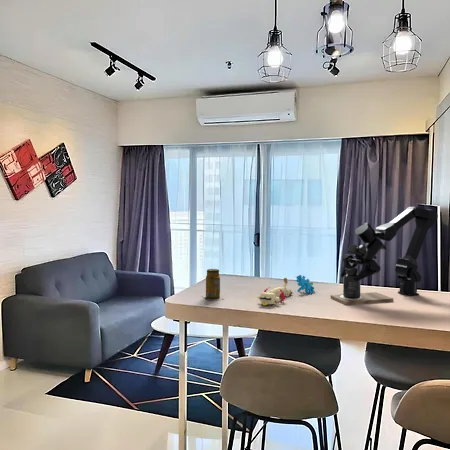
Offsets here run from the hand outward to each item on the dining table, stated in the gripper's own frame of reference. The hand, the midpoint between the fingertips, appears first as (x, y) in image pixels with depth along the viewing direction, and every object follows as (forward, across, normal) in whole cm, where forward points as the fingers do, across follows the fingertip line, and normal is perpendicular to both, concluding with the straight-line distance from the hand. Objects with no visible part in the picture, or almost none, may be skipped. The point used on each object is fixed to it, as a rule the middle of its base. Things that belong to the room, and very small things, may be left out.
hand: (348, 278), depth 180 cm
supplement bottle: (+5, 0, +7) cm, 8 cm away
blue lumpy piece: (+12, -20, +1) cm, 24 cm away
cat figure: (+26, -12, -12) cm, 31 cm away
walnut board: (+2, +1, +11) cm, 11 cm away
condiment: (+42, -26, -28) cm, 57 cm away
